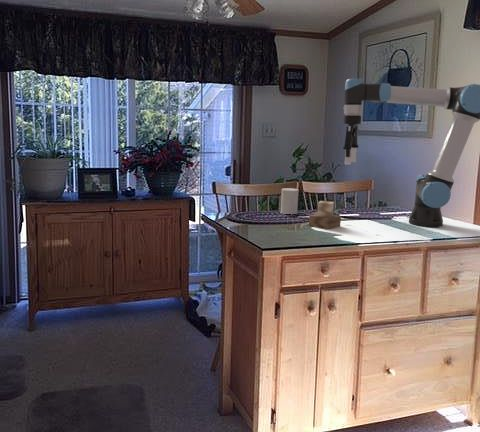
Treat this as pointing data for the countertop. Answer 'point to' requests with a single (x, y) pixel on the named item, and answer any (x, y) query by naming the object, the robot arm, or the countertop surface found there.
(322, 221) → the walnut block
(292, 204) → the cup
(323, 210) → the maple cube
